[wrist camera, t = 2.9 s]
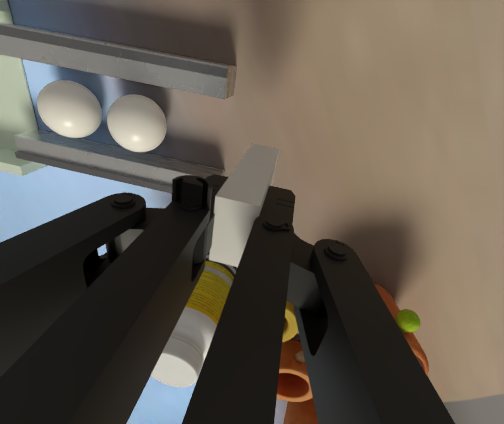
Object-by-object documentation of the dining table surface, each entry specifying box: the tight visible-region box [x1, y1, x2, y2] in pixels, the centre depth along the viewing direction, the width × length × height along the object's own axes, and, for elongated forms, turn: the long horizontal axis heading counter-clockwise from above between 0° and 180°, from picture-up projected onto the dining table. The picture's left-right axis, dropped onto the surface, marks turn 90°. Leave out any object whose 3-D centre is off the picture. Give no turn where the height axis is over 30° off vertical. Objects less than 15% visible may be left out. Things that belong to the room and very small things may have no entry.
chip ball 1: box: [37, 80, 102, 138], centre depth 19 cm, size 4×4×4 cm
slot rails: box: [0, 22, 237, 193], centre depth 20 cm, size 16×9×2 cm, turn 81°
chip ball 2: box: [107, 94, 167, 152], centre depth 19 cm, size 4×4×4 cm
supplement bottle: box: [151, 255, 236, 387], centre depth 23 cm, size 5×5×10 cm
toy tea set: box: [277, 284, 429, 424], centre depth 26 cm, size 26×16×10 cm, turn 15°
